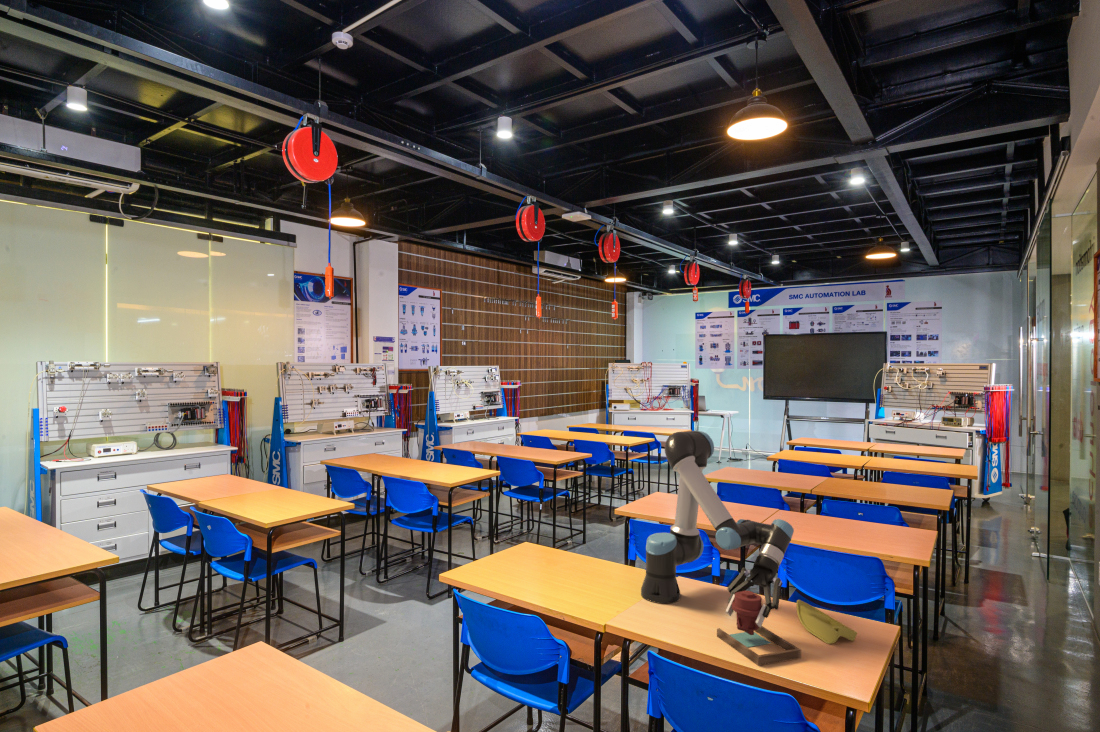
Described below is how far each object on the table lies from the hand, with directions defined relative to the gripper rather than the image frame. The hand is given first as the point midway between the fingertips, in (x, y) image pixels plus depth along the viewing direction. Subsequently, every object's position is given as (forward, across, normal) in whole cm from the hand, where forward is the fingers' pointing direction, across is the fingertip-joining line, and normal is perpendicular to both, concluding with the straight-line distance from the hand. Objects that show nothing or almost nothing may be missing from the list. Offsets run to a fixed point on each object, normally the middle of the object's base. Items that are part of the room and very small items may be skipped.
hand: (742, 619), depth 179 cm
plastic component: (-16, -12, -27) cm, 34 cm away
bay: (+4, -4, -6) cm, 9 cm away
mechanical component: (+1, 0, -6) cm, 6 cm away
